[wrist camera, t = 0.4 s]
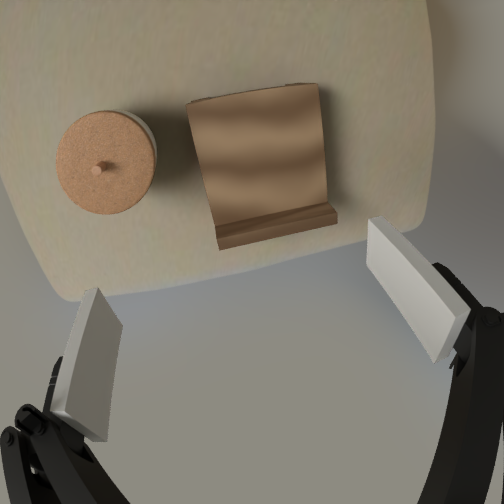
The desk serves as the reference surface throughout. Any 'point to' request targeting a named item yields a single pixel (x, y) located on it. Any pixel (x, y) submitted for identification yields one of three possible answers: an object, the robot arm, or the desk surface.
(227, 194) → the wooden stand
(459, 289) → the robot arm
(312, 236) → the desk surface
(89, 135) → the lidded jar
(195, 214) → the desk surface
